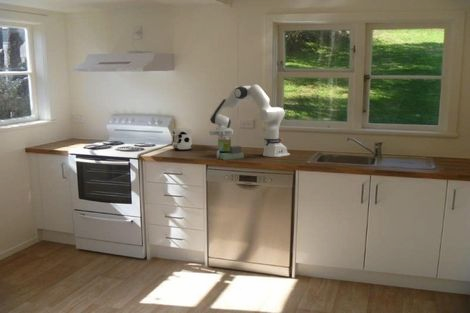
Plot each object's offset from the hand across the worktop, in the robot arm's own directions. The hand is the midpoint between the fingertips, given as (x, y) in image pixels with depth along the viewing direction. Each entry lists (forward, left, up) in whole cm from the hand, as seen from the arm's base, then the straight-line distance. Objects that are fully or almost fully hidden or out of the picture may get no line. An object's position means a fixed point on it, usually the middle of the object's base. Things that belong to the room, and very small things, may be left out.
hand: (221, 133), depth 386 cm
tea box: (+8, +19, -16) cm, 26 cm away
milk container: (+26, -26, -16) cm, 39 cm away
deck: (+9, +30, -16) cm, 35 cm away
